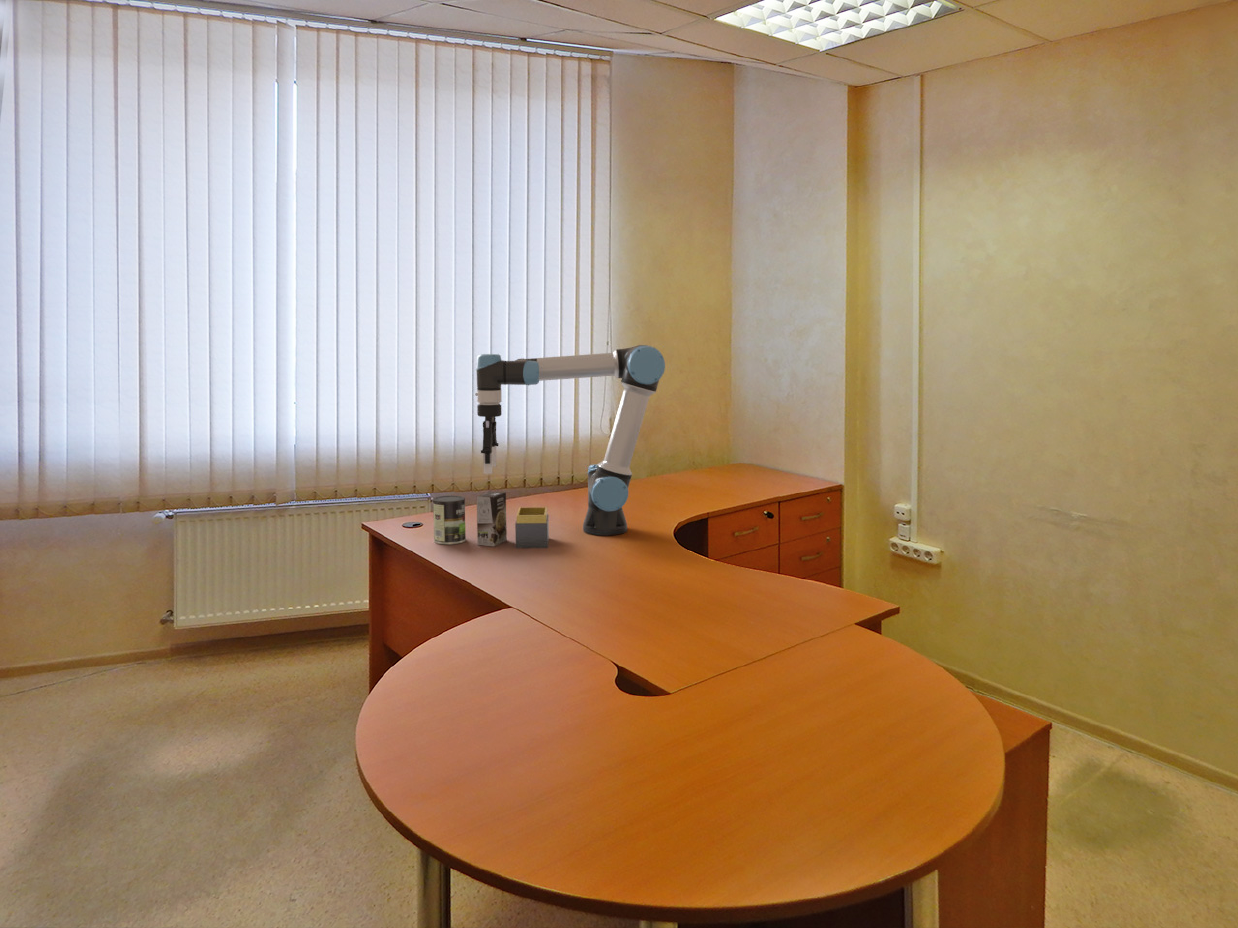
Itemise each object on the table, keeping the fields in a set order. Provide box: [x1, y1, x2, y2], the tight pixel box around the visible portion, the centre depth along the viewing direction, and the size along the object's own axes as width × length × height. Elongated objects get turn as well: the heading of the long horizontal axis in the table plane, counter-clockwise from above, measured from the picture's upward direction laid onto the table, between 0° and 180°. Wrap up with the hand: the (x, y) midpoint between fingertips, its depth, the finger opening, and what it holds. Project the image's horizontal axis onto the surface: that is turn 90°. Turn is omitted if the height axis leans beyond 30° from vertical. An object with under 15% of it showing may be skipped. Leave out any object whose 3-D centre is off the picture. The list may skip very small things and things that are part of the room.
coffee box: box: [476, 491, 508, 547], centre depth 272 cm, size 9×6×16 cm
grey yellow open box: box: [514, 506, 550, 549], centre depth 272 cm, size 10×12×10 cm
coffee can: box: [432, 495, 467, 545], centre depth 274 cm, size 10×10×14 cm
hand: (490, 470), depth 269 cm, fingers open, 13 cm apart
